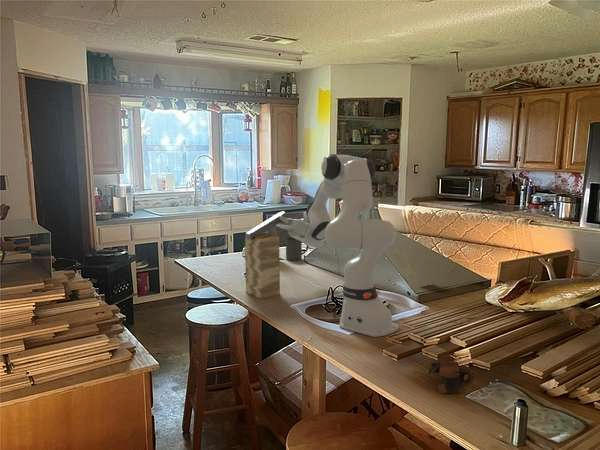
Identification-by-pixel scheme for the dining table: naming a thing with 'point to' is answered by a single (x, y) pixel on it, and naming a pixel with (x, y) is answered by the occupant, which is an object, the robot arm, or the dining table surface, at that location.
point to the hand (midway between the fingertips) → (276, 216)
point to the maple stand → (262, 265)
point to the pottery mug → (451, 376)
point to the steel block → (265, 226)
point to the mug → (294, 249)
